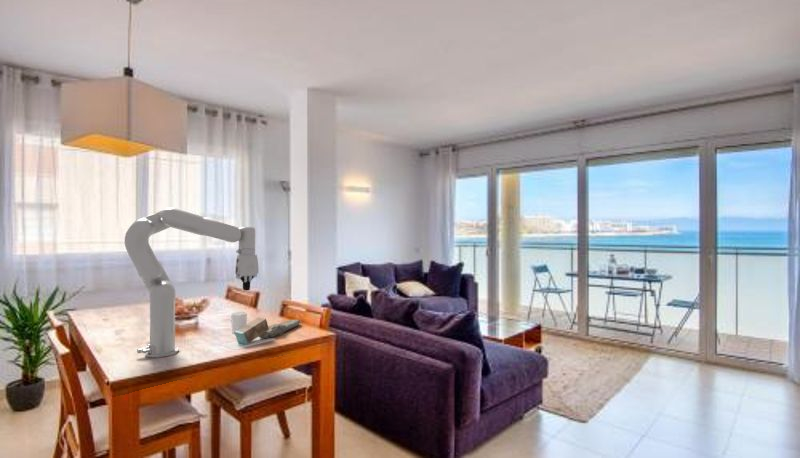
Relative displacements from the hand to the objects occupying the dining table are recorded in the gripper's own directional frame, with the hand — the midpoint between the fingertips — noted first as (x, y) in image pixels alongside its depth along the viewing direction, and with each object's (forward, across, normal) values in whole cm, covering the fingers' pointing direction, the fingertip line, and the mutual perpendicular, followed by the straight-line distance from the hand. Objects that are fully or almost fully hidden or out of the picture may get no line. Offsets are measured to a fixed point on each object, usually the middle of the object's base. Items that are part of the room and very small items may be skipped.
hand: (246, 289), depth 198 cm
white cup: (+25, +7, +18) cm, 32 cm away
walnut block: (+22, -5, -4) cm, 23 cm away
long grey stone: (+25, +22, +2) cm, 33 cm away
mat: (+25, 0, -4) cm, 25 cm away
